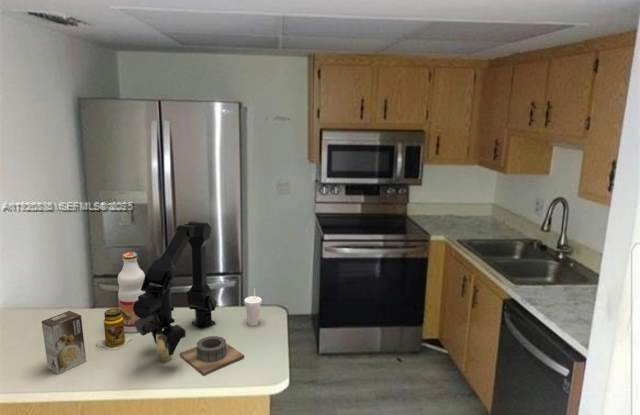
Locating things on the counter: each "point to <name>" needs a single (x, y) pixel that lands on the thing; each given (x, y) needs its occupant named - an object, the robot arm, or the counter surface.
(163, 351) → the brass pin
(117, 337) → the condiment
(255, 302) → the smoothie
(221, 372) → the counter surface
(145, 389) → the counter surface
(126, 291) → the fruit juice
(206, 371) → the ring socket
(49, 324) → the coffee box
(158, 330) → the robot arm
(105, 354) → the counter surface
